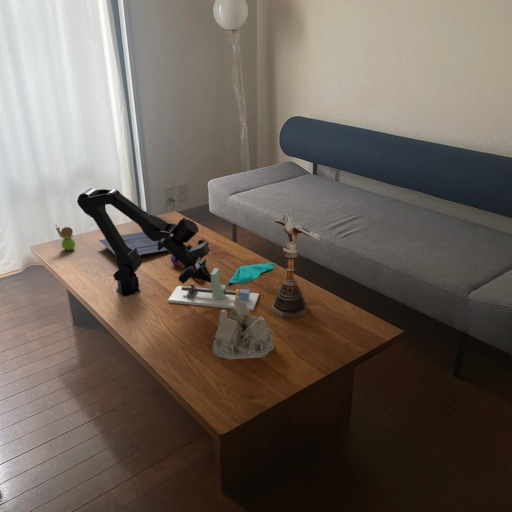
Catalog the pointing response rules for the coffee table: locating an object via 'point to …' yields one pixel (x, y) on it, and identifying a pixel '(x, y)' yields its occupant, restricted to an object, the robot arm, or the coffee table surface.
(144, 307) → the coffee table surface
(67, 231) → the snail figurine
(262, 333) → the ceramic cottage
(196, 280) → the kendama
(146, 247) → the papers
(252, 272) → the cloth
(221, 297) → the sage green stepped block
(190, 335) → the coffee table surface
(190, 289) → the white board with rod
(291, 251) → the bird statue
